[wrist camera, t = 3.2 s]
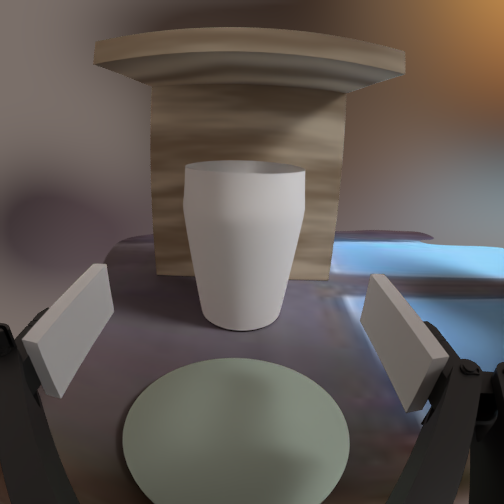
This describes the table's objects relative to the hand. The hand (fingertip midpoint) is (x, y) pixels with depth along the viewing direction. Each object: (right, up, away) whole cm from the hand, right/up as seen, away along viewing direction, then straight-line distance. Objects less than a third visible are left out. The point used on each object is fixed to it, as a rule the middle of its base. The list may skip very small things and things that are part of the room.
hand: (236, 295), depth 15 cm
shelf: (0, -3, +12) cm, 12 cm away
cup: (0, -3, +12) cm, 12 cm away
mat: (0, -8, 0) cm, 8 cm away
